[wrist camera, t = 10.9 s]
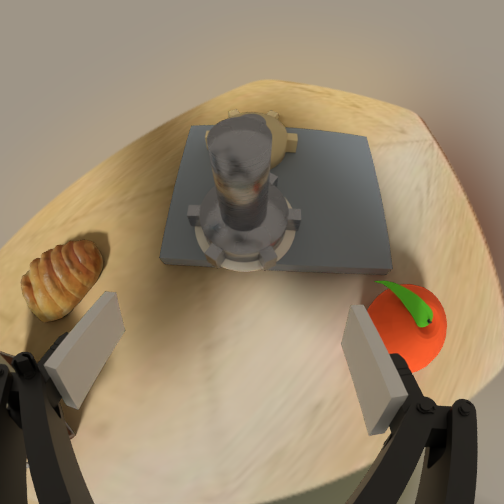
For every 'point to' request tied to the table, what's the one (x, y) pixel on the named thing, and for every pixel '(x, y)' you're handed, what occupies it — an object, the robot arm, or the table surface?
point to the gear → (243, 196)
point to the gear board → (294, 202)
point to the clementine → (409, 323)
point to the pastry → (61, 279)
